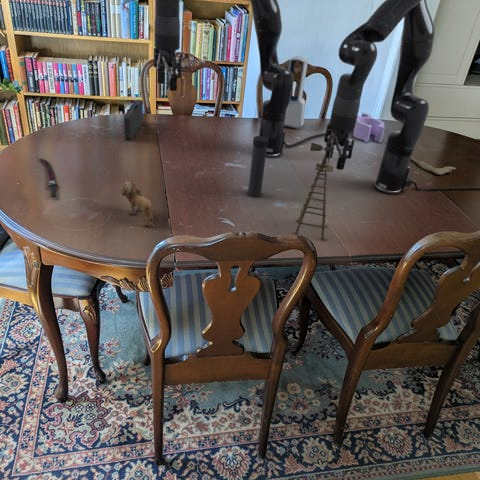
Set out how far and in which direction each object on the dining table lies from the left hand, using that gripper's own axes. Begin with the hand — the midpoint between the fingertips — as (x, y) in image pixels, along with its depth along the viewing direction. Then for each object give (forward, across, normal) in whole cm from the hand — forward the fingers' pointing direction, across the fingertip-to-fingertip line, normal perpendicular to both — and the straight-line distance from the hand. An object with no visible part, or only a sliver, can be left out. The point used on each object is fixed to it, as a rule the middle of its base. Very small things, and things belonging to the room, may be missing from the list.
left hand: (166, 86), depth 148 cm
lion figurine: (+29, -25, +21) cm, 44 cm away
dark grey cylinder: (+29, -27, -19) cm, 44 cm away
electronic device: (+29, +23, -74) cm, 83 cm away
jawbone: (+29, -36, -101) cm, 111 cm away
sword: (+29, +10, +38) cm, 49 cm away
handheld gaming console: (+29, +40, -5) cm, 50 cm away
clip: (+29, +1, -102) cm, 106 cm away
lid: (+10, -27, -19) cm, 35 cm away
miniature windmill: (+29, -53, -21) cm, 64 cm away
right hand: (+14, -43, -36) cm, 58 cm away
